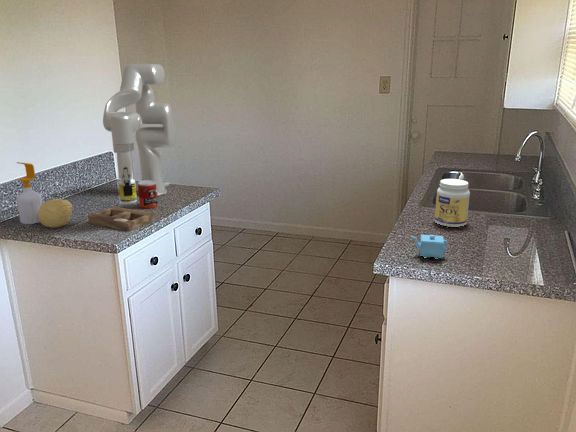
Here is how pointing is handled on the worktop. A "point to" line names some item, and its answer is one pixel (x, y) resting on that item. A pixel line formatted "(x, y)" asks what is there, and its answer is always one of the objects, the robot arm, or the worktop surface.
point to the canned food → (147, 194)
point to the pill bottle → (128, 198)
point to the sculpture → (55, 213)
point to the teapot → (431, 246)
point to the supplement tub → (452, 203)
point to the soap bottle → (29, 198)
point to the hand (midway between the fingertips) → (128, 193)
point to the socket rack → (121, 218)
